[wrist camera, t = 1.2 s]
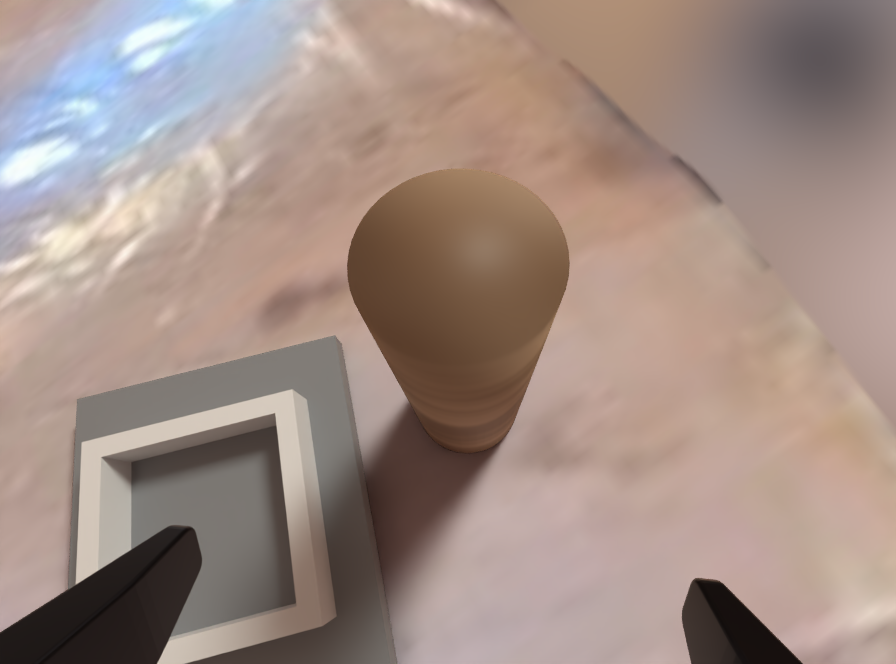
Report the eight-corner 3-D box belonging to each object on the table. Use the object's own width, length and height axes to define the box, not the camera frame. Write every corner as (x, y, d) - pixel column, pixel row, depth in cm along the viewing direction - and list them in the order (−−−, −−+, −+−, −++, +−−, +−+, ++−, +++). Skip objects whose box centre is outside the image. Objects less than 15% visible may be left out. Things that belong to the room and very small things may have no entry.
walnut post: (515, 457, 21) (569, 371, 9) (411, 448, 21) (328, 355, 9) (519, 357, 23) (569, 172, 11) (422, 351, 23) (365, 165, 11)
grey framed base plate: (399, 677, 18) (386, 706, 15) (84, 765, 18) (12, 811, 15) (341, 344, 23) (323, 320, 21) (96, 405, 23) (43, 389, 20)
